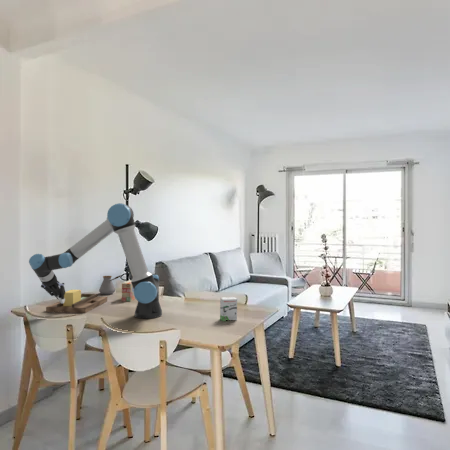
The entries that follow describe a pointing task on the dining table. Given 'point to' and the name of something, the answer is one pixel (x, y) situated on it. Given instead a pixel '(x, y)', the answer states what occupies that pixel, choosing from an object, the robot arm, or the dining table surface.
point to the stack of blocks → (127, 291)
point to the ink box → (228, 308)
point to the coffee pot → (107, 285)
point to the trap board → (79, 304)
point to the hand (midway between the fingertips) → (63, 301)
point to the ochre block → (72, 297)
